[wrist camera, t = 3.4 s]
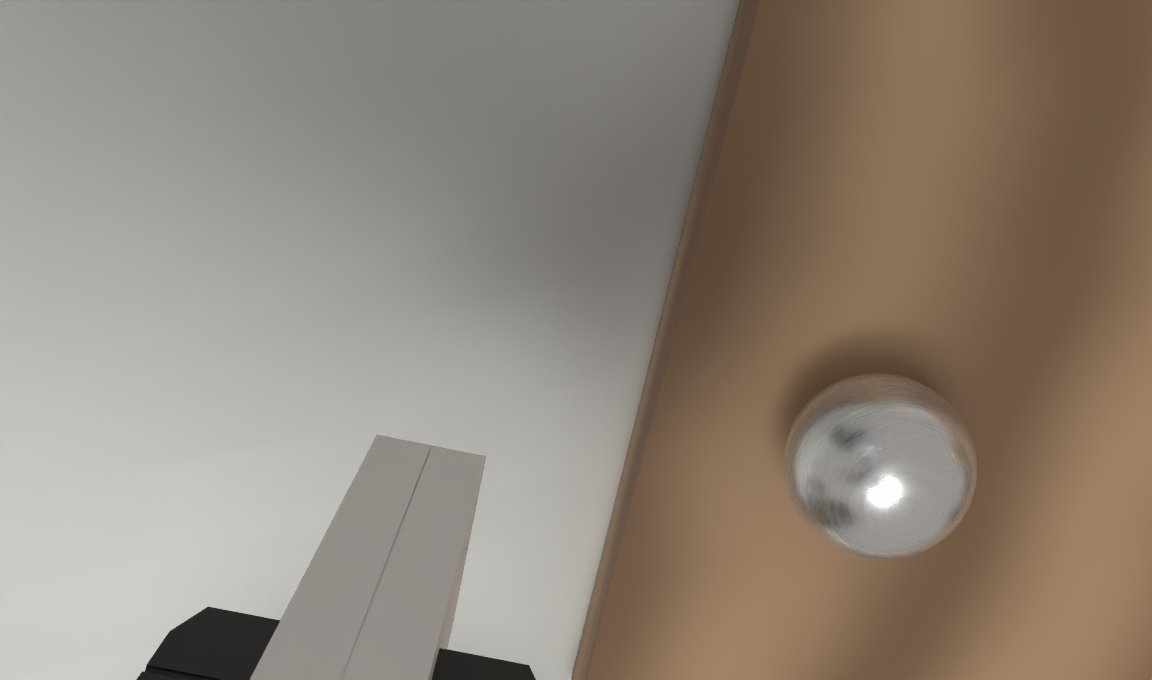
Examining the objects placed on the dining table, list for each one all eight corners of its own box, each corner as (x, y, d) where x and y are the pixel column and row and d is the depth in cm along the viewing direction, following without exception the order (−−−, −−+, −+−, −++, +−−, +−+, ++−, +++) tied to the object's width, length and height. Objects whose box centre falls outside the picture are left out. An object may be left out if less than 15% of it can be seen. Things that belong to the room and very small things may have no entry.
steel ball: (796, 331, 20) (835, 400, 17) (965, 366, 20) (1036, 441, 17) (751, 485, 21) (778, 577, 18) (911, 516, 21) (967, 614, 18)
